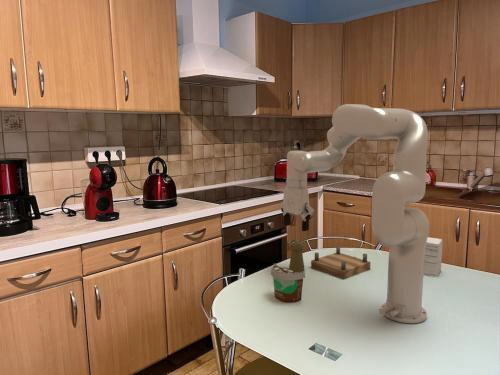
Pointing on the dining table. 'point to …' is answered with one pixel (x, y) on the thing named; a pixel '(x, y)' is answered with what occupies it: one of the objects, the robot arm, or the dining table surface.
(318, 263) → the shelf board
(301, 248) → the brown rounded piece
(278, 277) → the food container
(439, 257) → the supplement box
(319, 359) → the dining table surface
